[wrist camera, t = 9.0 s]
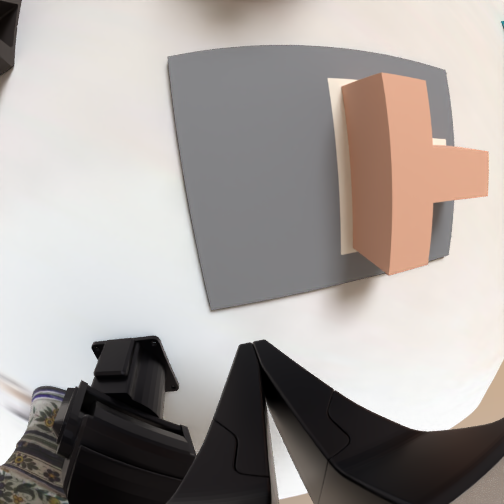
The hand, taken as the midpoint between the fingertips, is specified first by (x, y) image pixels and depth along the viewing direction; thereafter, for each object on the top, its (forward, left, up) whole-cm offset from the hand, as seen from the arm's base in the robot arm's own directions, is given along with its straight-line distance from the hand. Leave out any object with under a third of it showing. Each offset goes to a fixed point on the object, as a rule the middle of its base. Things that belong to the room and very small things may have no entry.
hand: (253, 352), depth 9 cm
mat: (+4, -9, -12) cm, 15 cm away
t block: (+4, -14, -11) cm, 19 cm away
